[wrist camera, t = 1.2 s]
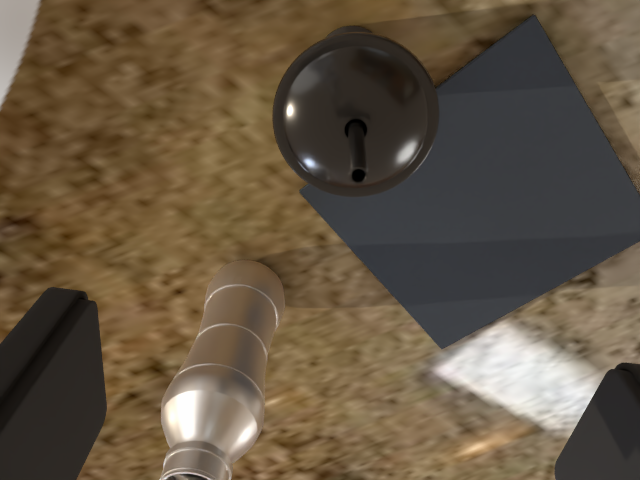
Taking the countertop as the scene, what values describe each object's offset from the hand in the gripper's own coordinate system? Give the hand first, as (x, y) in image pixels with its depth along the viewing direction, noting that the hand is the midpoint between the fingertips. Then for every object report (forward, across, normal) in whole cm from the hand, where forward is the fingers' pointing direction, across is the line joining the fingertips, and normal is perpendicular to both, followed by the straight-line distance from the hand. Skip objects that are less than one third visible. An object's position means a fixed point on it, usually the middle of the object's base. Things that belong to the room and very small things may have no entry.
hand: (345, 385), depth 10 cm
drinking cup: (+30, -1, 0) cm, 30 cm away
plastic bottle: (+30, +5, +19) cm, 36 cm away
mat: (+30, -12, +10) cm, 34 cm away
